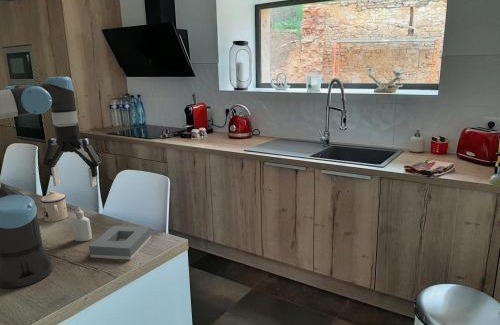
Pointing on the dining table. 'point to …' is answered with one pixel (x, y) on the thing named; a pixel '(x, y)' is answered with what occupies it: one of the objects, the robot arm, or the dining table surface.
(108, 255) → the hole block
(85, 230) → the eye dropper bottle
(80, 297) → the dining table surface
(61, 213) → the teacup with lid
